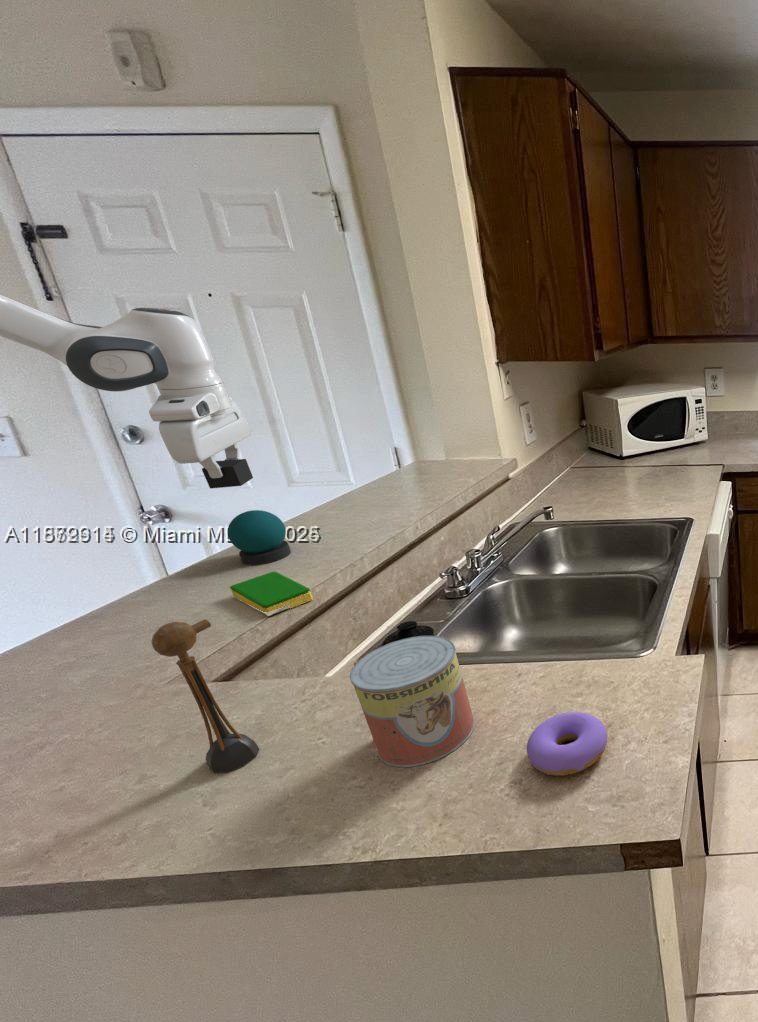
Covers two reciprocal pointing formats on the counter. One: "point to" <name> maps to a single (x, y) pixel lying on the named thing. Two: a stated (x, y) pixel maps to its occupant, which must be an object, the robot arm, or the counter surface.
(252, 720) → the counter surface
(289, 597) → the dish sponge
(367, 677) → the canned food
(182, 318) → the robot arm
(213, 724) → the wooden tabletop sculpture
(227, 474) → the block
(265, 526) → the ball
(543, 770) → the donut
